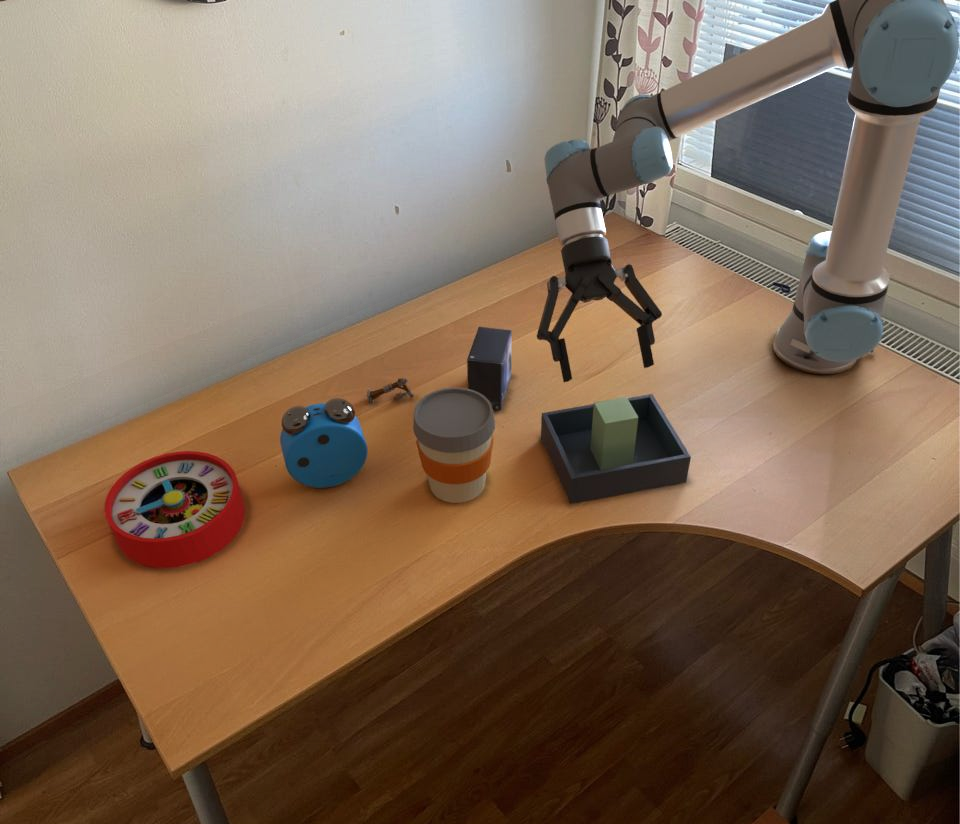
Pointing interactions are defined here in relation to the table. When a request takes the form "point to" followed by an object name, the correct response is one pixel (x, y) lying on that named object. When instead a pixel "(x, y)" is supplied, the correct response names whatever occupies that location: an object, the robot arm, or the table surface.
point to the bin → (582, 479)
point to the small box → (490, 364)
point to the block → (613, 433)
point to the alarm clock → (323, 443)
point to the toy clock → (175, 509)
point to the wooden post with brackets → (388, 388)
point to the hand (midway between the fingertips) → (608, 373)
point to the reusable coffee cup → (455, 441)
